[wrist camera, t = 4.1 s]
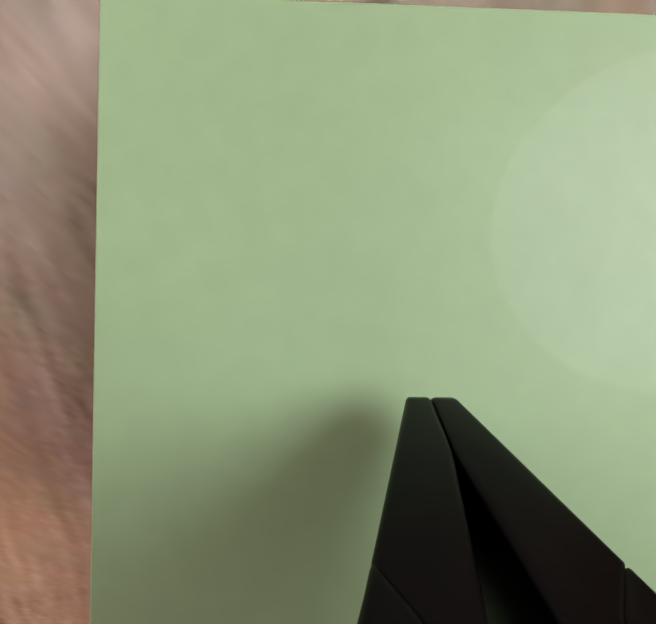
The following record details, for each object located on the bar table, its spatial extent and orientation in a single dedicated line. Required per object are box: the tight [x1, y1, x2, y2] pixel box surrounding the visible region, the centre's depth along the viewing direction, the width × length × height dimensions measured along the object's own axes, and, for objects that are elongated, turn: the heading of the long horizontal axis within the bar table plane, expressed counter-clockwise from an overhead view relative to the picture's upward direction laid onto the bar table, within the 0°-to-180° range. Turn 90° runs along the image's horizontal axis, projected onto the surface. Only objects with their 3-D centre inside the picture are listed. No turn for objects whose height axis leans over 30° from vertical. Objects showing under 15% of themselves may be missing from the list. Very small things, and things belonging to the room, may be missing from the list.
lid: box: [90, 0, 656, 624], centre depth 10 cm, size 16×13×1 cm
